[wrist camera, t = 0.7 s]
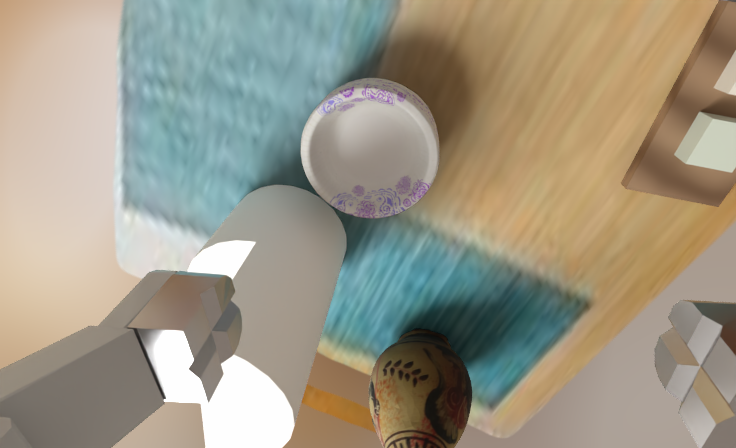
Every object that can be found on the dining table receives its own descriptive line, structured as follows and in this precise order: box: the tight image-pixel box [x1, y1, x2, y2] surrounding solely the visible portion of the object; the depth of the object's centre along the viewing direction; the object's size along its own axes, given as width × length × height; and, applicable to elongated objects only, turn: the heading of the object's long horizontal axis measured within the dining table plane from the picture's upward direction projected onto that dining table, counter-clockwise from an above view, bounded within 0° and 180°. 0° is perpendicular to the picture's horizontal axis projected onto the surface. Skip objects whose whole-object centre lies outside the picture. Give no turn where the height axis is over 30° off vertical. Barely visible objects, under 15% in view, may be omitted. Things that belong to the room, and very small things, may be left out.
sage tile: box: [674, 112, 736, 173], centre depth 45 cm, size 5×5×2 cm
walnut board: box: [621, 0, 736, 207], centre depth 45 cm, size 20×11×2 cm, turn 171°
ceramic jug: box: [369, 329, 472, 448], centre depth 58 cm, size 17×15×30 cm
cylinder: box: [187, 185, 347, 448], centre depth 50 cm, size 17×17×28 cm
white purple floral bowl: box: [301, 78, 439, 218], centre depth 48 cm, size 15×15×8 cm
